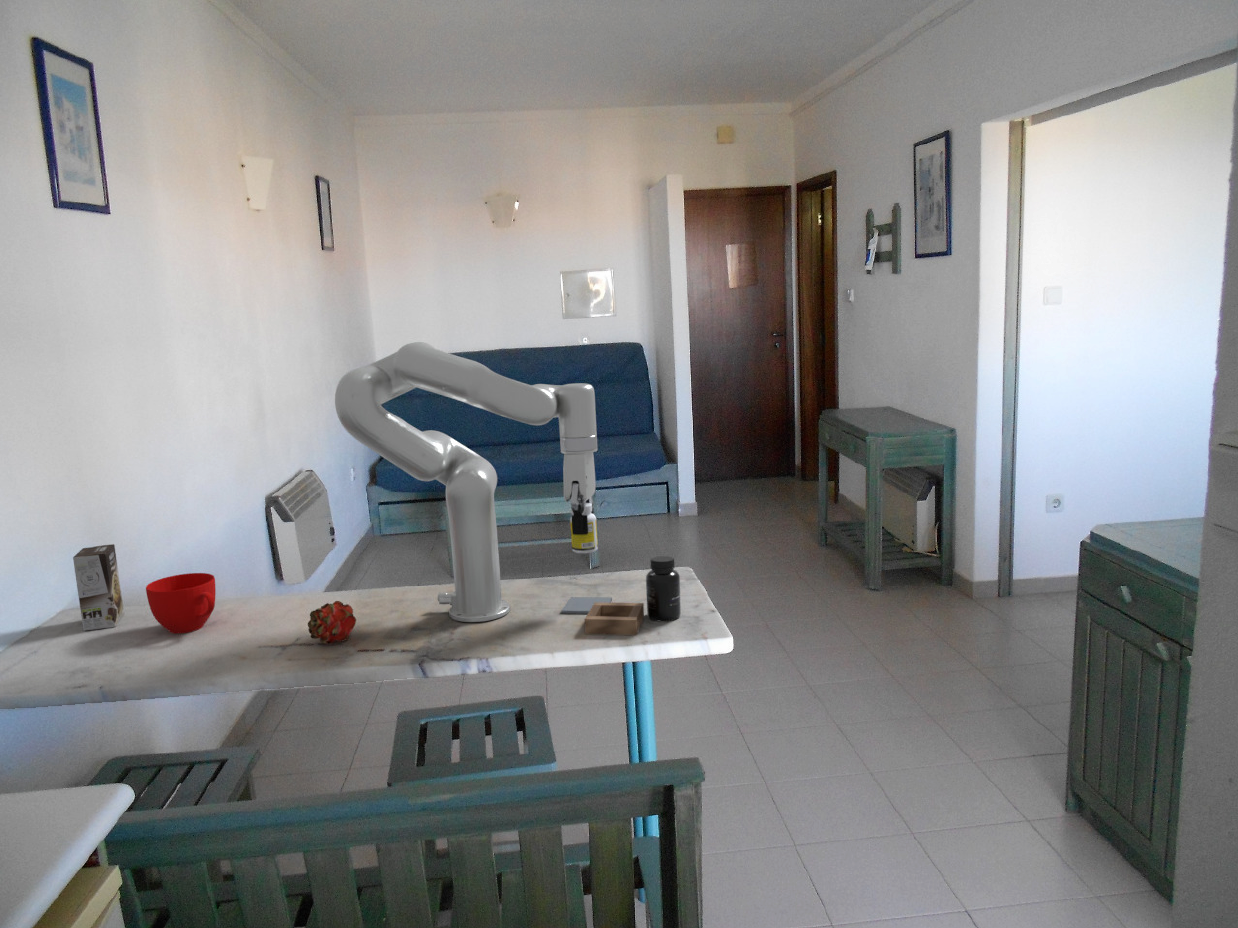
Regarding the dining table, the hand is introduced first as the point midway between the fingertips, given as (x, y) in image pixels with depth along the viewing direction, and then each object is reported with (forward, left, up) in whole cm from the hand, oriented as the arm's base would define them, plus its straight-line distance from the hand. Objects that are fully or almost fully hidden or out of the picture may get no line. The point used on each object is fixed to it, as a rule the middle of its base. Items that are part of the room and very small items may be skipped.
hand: (583, 529), depth 189 cm
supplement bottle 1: (0, 0, -5) cm, 5 cm away
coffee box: (-103, -15, -17) cm, 105 cm away
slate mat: (0, 0, -17) cm, 17 cm away
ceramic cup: (-80, -18, -17) cm, 84 cm away
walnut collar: (+8, -11, -17) cm, 21 cm away
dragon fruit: (-46, -22, -17) cm, 54 cm away
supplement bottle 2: (+17, -5, -17) cm, 24 cm away
